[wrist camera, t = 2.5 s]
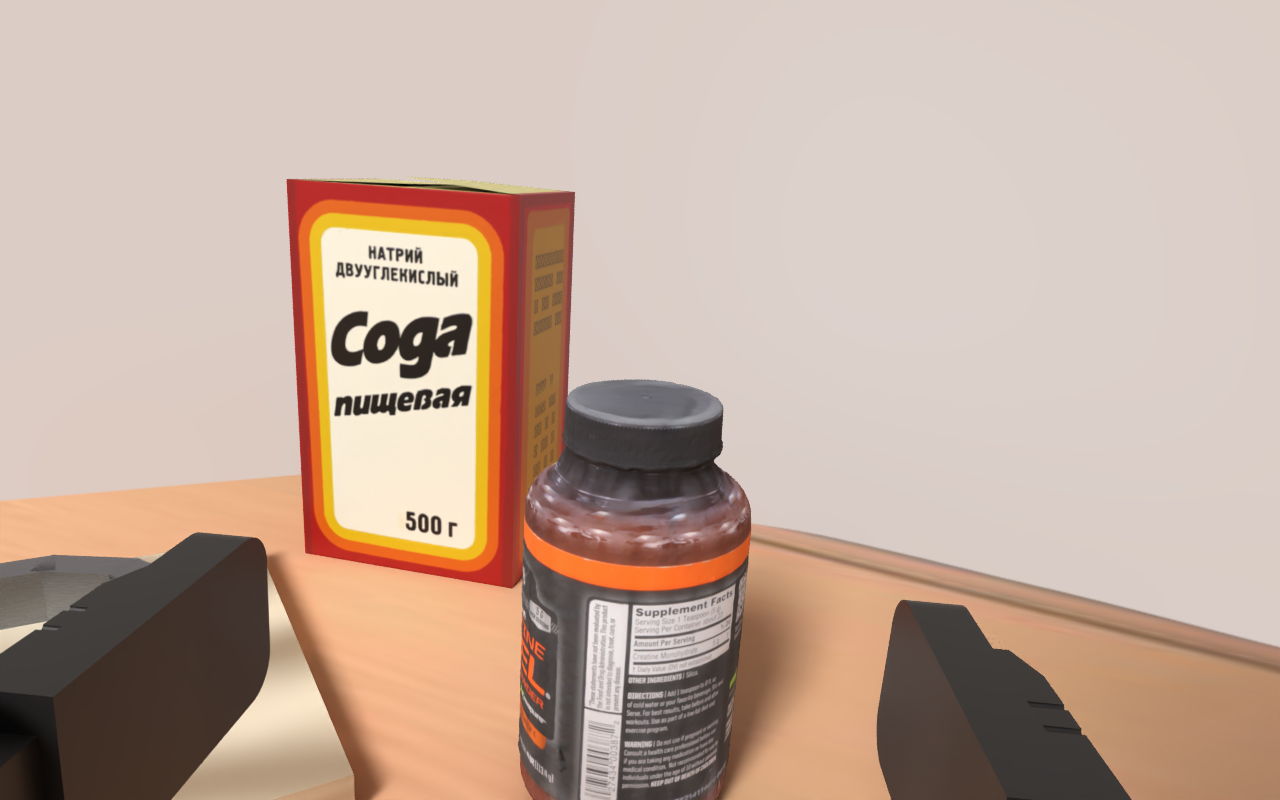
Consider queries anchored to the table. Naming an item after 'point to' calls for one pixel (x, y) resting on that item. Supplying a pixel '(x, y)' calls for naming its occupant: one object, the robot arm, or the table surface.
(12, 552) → the table surface
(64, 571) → the ring collar
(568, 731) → the supplement bottle
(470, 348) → the baking soda box
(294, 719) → the birch board
